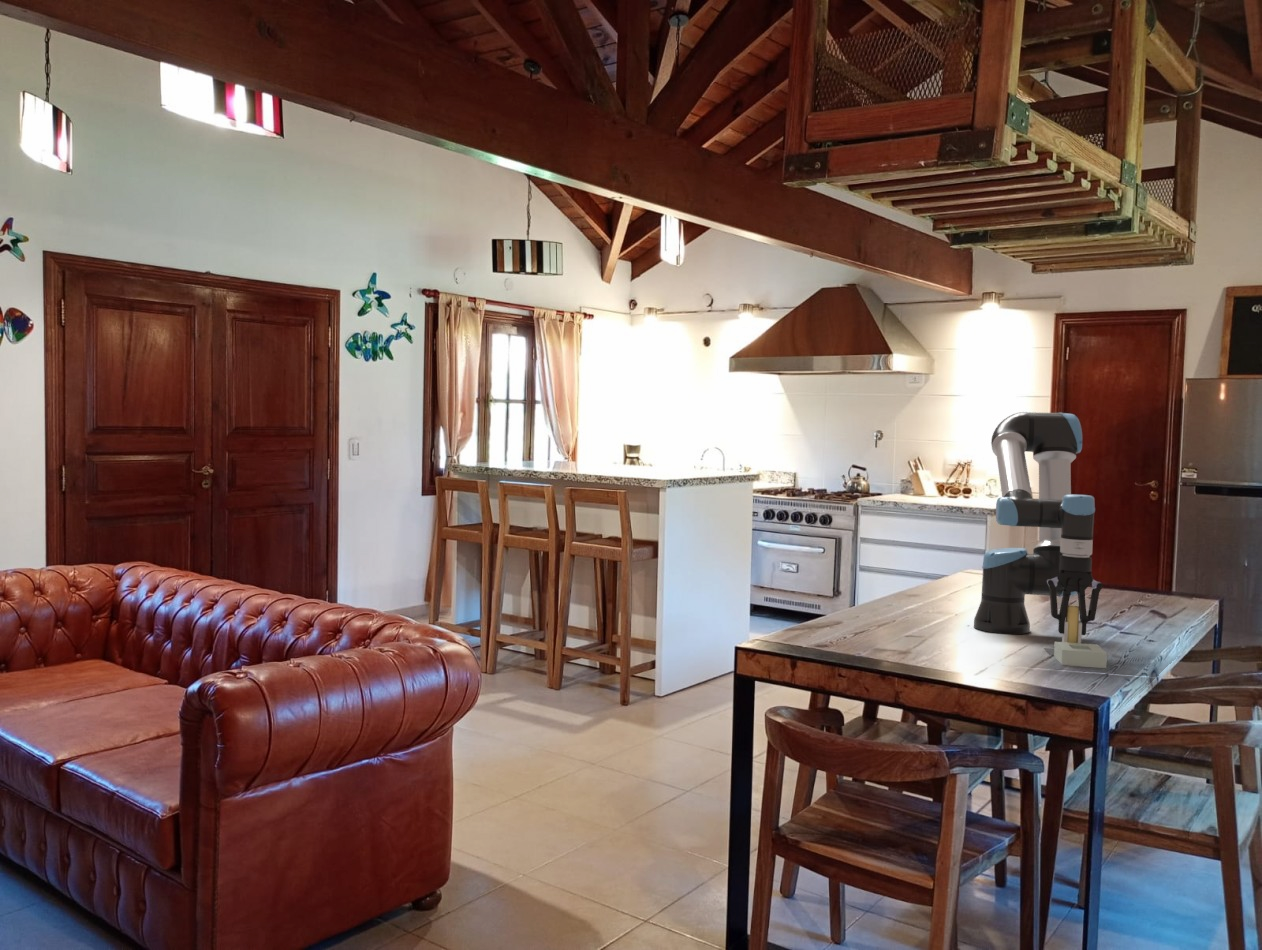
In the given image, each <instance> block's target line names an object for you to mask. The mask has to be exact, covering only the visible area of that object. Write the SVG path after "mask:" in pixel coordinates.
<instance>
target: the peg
mask: <svg viewBox="0 0 1262 950" xmlns="http://www.w3.org/2000/svg"><path fill="white" fill-rule="evenodd" d="M1065 620H1066V622H1068V639H1067V642H1068V643H1077V640H1078V622H1079V621H1080V614H1079V605H1078V606H1077V605H1073V604H1071V605H1069V604H1068V608H1067V614H1066V619H1065Z"/></svg>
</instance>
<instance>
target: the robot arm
mask: <svg viewBox="0 0 1262 950" xmlns="http://www.w3.org/2000/svg"><path fill="white" fill-rule="evenodd" d="M990 444H991V450H992V452H993V454H994V455H995V456H996V461H997V467H998V476H999V483H1000V491H1001V497H999V498H997V501H996V503H995V504H996V506H995V520H996V522H997V524H998V525H1001V526H1009V527H1027V528H1028V527H1029V528H1030V527H1031V528H1038V544H1036V545H1035V546H1034V547H1033V553H1028V550H1027V548H1025V547H1003V548H994V549H990V550H987V551H986V552H985V553H984V555H983V561H982V566H981V568H982V578H981V579H982V582H981V598H980V599H981V600H980V603H979V605H978V608H977V611H976V613H975V616H974V619H973V628H975V629H977V630H980V631H983V632H987V633H995V634H1005V635H1022V634H1028V633H1030V629H1031V623H1030V619H1029V615H1028V613H1027V610H1026V605H1025V598H1026V595H1029V596H1030V595H1031V596H1032V595H1033V596H1044V597H1045V596H1046V597H1047V596H1048V597H1049V600H1050V616H1051V617H1052V618H1054V619H1055V620H1058V627H1057V629H1058V633H1059V634H1060V635H1061V634H1062V635H1061V642H1067V639H1068V622H1066V614H1067V608H1068V605H1069V603H1070V597H1075V596H1076V595H1077V599H1078V607H1079V622H1078V640H1077V643H1082V636H1086V634H1087V624H1088V623H1089V622H1093V621H1095V619H1096V616H1097V615H1096V614H1097V607H1098V603H1099V596H1100V592H1101V590H1102V589H1103V587H1104V584H1103V583H1102V582H1100V581H1097V580H1095V579H1094V577H1093V575H1092V565H1093V558H1092V557H1091V556H1092V555H1093V546H1094V545H1093V541H1094V525H1095V512H1096V507H1095V506H1096V505H1095V500H1096V499H1095V497H1094V496H1093V495H1088V494H1077V493H1076V494H1075V493H1074V494H1073V493H1072V485H1071V483H1072V482H1071V480H1072V478H1071V477H1072V475H1071V474H1072V473H1071V468H1072V467H1071V466H1072V465H1071V464H1072V463H1073V461H1074V460H1076V459H1077V454H1080V453H1081V451H1082V449H1083V431H1082V425H1081V422H1080V419H1079V418H1078V416H1076V415H1075V414H1073V413H1066V412H1061V411H1060V412H1034V411H1033V412H1030V411H1029V412H1028V411H1021V412H1016V413H1013V414H1011V415H1009V416H1007V417H1006V418H1004V419H1002V420H1001V422H999V424H997V426H996V428H995V429H994V431H993V432H992V436H991V442H990ZM1025 452H1027V453H1028V452H1032V459H1033V460H1034V461H1036V463H1037V464H1038V498H1033V493H1032V489H1031V482H1030V477H1029V471H1028V465H1027V459H1026V453H1025ZM1090 585H1091V588H1092V589H1091V593H1090V594H1091V595H1090V602H1089V605H1088V613H1087V606H1086V605H1087V604H1086V589H1087V588H1088V587H1090ZM1058 598H1061V603H1060V608H1059V609H1060V610H1059V611H1058Z"/></svg>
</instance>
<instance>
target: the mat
mask: <svg viewBox="0 0 1262 950" xmlns="http://www.w3.org/2000/svg"><path fill="white" fill-rule="evenodd" d="M1043 649H1044V651H1045V652H1046V653H1047V654H1048V655H1049V656H1050V655H1051V656H1054V648H1052V647H1051V648H1047V647H1043Z"/></svg>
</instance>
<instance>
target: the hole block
mask: <svg viewBox="0 0 1262 950" xmlns="http://www.w3.org/2000/svg"><path fill="white" fill-rule="evenodd" d="M1053 649H1054V655H1053V657H1054V658H1055V659H1056V660H1057V661H1058V662H1059V664H1060V665H1061V666H1070V667H1083V668H1084V667H1087V668H1096V669H1097V668H1099V669H1107V659H1108V652H1106V651H1105V650H1104V649H1103V648H1102V647H1101V646H1100V645H1098V644H1097V643H1095V644H1094V643H1082V642H1081V643H1068V642H1062V641H1054V648H1053Z"/></svg>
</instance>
